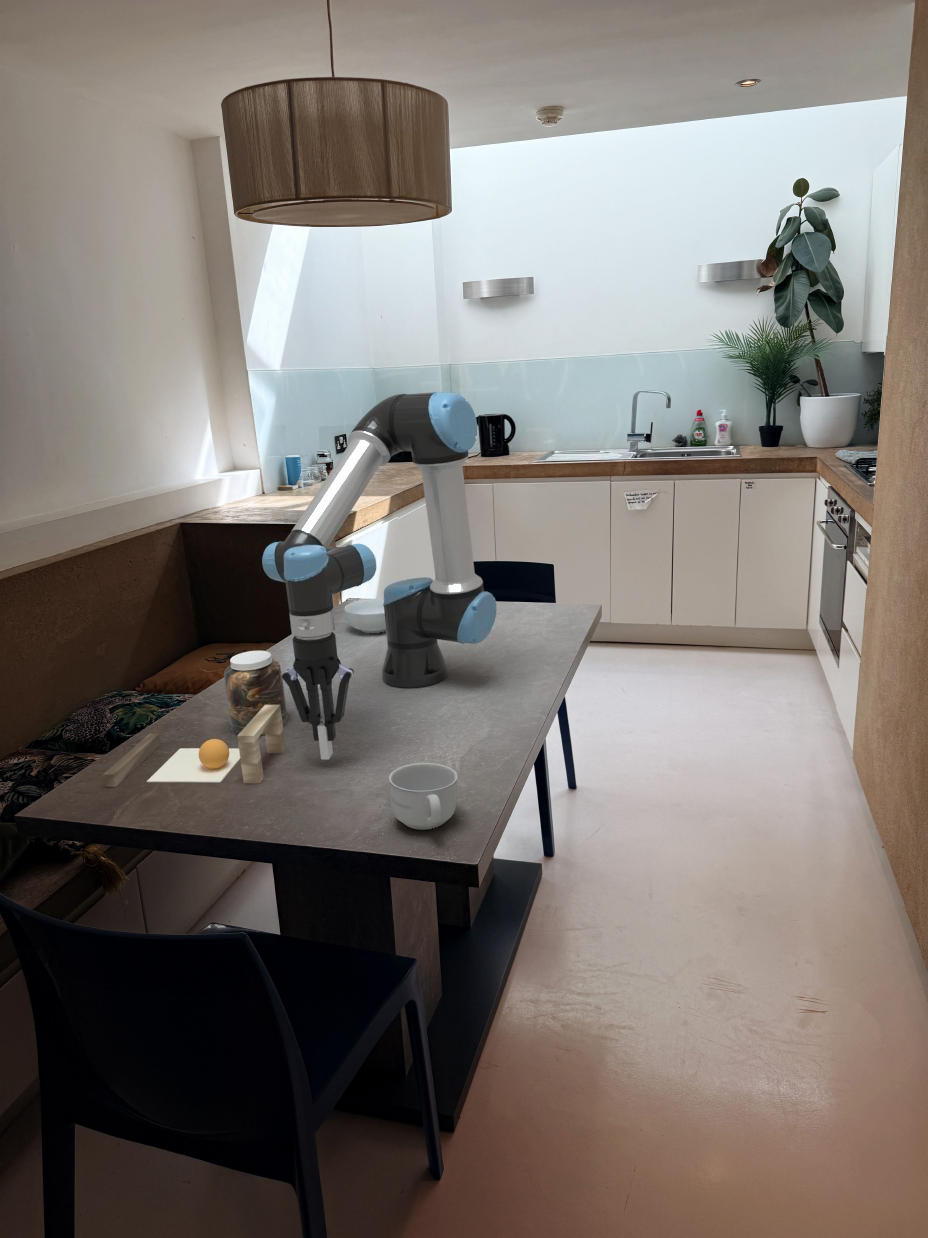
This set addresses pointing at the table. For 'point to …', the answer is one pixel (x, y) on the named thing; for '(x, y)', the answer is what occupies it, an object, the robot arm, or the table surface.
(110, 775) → the stopper
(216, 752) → the ball
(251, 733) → the bridge
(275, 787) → the table surface
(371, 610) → the cereal bowl
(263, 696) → the jar
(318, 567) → the robot arm
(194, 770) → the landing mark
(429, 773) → the teacup
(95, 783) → the table surface
